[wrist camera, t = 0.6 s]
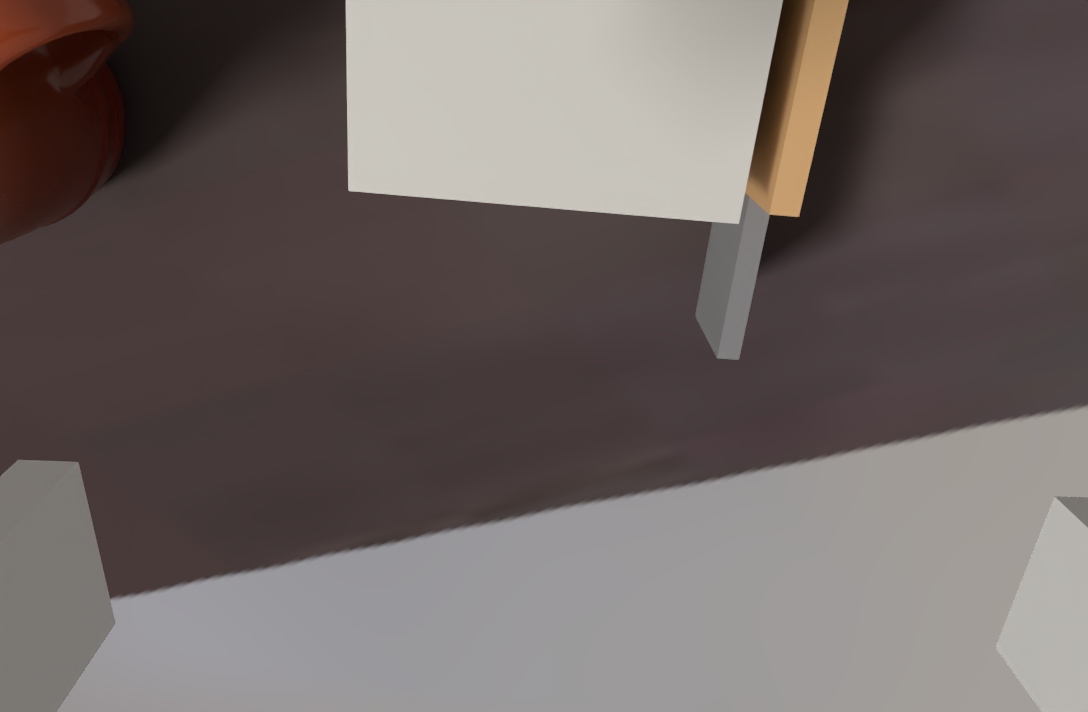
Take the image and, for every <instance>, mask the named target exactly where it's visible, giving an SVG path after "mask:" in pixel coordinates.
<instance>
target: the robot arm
mask: <svg viewBox="0 0 1088 712" xmlns="http://www.w3.org/2000/svg"><path fill="white" fill-rule="evenodd" d="M114 624H115V619H114V615H113V611H112V606H111V602H110V598H109V593H108V589H107V585H106V580H105V576H104V572H103V567H102V563H101V559H100V554H99V550H98V545H97V541H96V537H95V532H94V528H93V524H92V519H91V515H90V511H89V506H88V502H87V498H86V493H85V489H84V485H83V480H82V476H81V472H80V467H79V463H78V462H64V461H36V460H18V461H17V462H16V463H14V464H13V465H12V466H11V467H10V468H9V469H8V470H7V471H5V472H4V473H3V474H2V475H1V476H0V712H57V710H58V709H59V707H60V706H61V704H62V703H63V701H64V700H65V698H66V697H67V695H68V694H69V692H70V691H71V689H72V688H73V686H74V685H75V683H76V682H77V680H78V679H79V677H80V676H81V674H82V673H83V671H84V670H85V668H86V666H87V665H88V664H89V662H90V661H91V659H92V658H93V656H94V655H95V653H96V652H97V650H98V649H99V647H100V646H101V644H102V642H103V641H104V640H105V638H106V637H107V635H108V634H109V632H110V631H111V629H112V628H113V626H114ZM996 649H997V650H998V652H999V653H1000V654H1001V656H1002V657H1003V659H1004V660H1005V662H1006V663H1007V664H1008V666H1009V667H1010V668H1011V670H1012V671H1013V673H1014V674H1015V675H1016V677H1017V678H1018V680H1019V681H1020V682H1021V684H1022V685H1023V687H1024V688H1025V689H1026V691H1027V692H1028V693H1029V695H1030V696H1031V698H1032V699H1033V700H1034V702H1035V703H1036V704H1037V706H1038V707H1039V709H1040V710H1041V712H1088V498H1083V497H1054V499H1053V502H1052V504H1051V507H1050V510H1049V512H1048V515H1047V517H1046V520H1045V522H1044V525H1043V527H1042V530H1041V533H1040V535H1039V538H1038V541H1037V543H1036V545H1035V548H1034V550H1033V553H1032V556H1031V558H1030V561H1029V563H1028V566H1027V568H1026V571H1025V574H1024V576H1023V579H1022V581H1021V584H1020V586H1019V589H1018V592H1017V594H1016V597H1015V599H1014V602H1013V604H1012V607H1011V609H1010V612H1009V615H1008V617H1007V620H1006V622H1005V625H1004V627H1003V630H1002V633H1001V635H1000V638H999V640H998V643H997V645H996Z"/></svg>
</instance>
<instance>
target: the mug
mask: <svg viewBox="0 0 1088 712" xmlns="http://www.w3.org/2000/svg"><path fill="white" fill-rule="evenodd" d="M134 24H135V17H134V14H133V11H132V8H131V7H130V5H129V3H128V1H127V0H0V244H2V243H5V242H8V241H10V240H13V239H16V238H18V237H20V236H23V235H25V234H27V233H29V232H31V231H34V230H36V229H38V228H40V227H44V226H47V225H50V224H53V223H56V222H58V221H60V220H62V219H64V218H66V217H67V216H69V215H70V214H72V213H74V212H75V211H76V210H77V209H78V208H80V207H81V206H82V205H83V204H84V203H85V202H86V201H87V200H88V199H89V197H90V196H92V195H93V194H94V193H95V192H96V191H97V190H98V189H100V188H101V187H102V186H103V184H104V183H105V182H106V181H107V180H108V179H109V177H110V176H111V175H112V173H113V171H114V170H115V168H116V166H117V164H118V161H119V159H120V156H121V153H122V149H123V144H124V138H125V112H124V104H123V98H122V94H121V91H120V89H119V86H118V84H117V82H116V79H115V77H114V75H113V73H112V71H111V69H110V68H109V66H108V64H107V62H106V61H107V59H108V58H109V57H110V55H111V54H112V53H113V51H114V50H115V49H116V48H117V47H118V46H119V45H120V44H121V43H122V42H123V41H124V40H125V39H126V38H127V37H128V36H129V35H130V33H131V31H132V29H133V27H134Z"/></svg>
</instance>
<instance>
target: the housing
mask: <svg viewBox="0 0 1088 712" xmlns="http://www.w3.org/2000/svg"><path fill="white" fill-rule="evenodd" d="M782 3H783V0H346V56H347V124H348V191H356V192H367V193H379V194H391V195H403V196H414V197H426V198H438V199H450V200H461V201H473V202H485V203H497V204H509V205H520V206H532V207H544V208H556V209H567V210H579V211H591V212H603V213H614V214H626V215H638V216H650V217H662V218H673V219H685V220H697V221H709V222H720V223H732V224H739V221H740V216H741V211H742V206H743V201H744V196H745V191H746V185H747V180H748V175H749V170H750V165H751V160H752V155H753V150H754V145H755V140H756V135H757V130H758V125H759V120H760V115H761V110H762V105H763V99H764V94H765V89H766V84H767V79H768V74H769V69H770V64H771V59H772V54H773V49H774V44H775V39H776V34H777V29H778V24H779V19H780V13H781V8H782Z"/></svg>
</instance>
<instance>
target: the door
mask: <svg viewBox="0 0 1088 712" xmlns="http://www.w3.org/2000/svg"><path fill="white" fill-rule="evenodd" d="M848 1H849V0H783V3H782V8H781V13H780V19H779V24H778V29H777V34H776V39H775V44H774V49H773V54H772V59H771V64H770V69H769V74H768V79H767V84H766V89H765V94H764V99H763V105H762V110H761V115H760V120H759V125H758V130H757V135H756V140H755V145H754V150H753V155H752V160H751V165H750V170H749V175H748V180H747V185H746V191H745V196H744V201H743V206H742V211H741V216H740V221H739V224H732V223H720V222H712V228H711V233H710V238H709V244H708V249H707V255H706V260H705V266H704V271H703V277H702V282H701V288H700V293H699V299H698V304H697V309H696V315H695V317H696V319H697V321H698V323H699V324H700V326H701V328H702V330H703V332H704V334H705V336H706V338H707V340H708V342H709V344H710V346H711V347H712V349H713V351H714V353H715V355H716V357H717V358H721V359H734V360H739V357H740V352H741V347H742V343H743V338H744V333H745V329H746V324H747V319H748V314H749V310H750V305H751V300H752V296H753V291H754V286H755V282H756V277H757V272H758V268H759V263H760V258H761V254H762V249H763V244H764V240H765V235H766V230H767V225H768V221H769V216H770V215H780V216H792V217H799V215H800V210H801V206H802V202H803V197H804V193H805V188H806V184H807V180H808V175H809V171H810V167H811V162H812V158H813V154H814V149H815V145H816V141H817V136H818V132H819V128H820V123H821V119H822V114H823V110H824V106H825V101H826V97H827V93H828V88H829V84H830V80H831V75H832V71H833V67H834V62H835V58H836V53H837V49H838V45H839V40H840V36H841V32H842V27H843V23H844V19H845V14H846V10H847V6H848Z"/></svg>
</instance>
